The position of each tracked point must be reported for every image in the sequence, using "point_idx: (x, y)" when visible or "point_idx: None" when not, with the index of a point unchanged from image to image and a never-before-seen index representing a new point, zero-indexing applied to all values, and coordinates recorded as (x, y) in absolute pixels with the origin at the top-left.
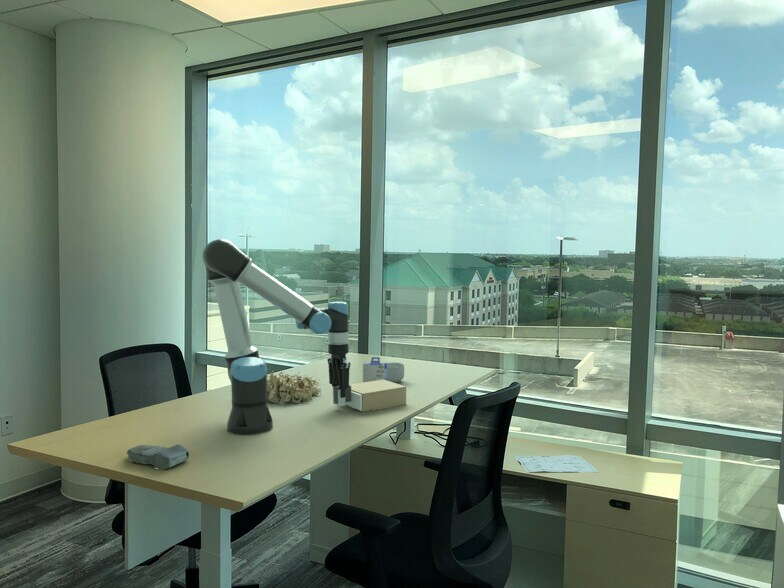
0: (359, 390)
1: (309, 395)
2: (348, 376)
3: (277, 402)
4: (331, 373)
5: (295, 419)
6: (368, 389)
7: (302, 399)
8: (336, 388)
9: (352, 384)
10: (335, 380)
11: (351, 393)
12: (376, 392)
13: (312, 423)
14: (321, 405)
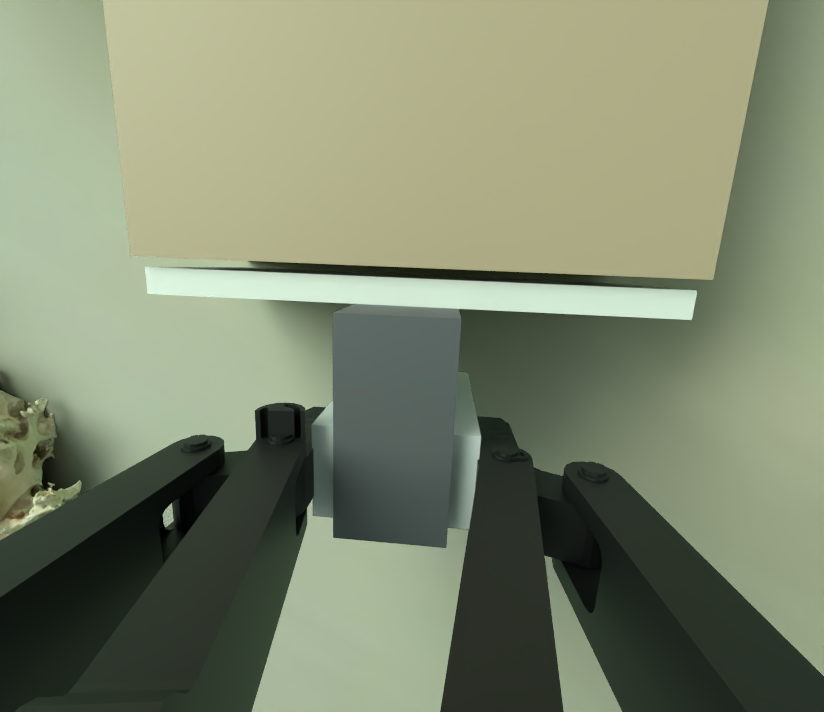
0: (520, 203)
1: (7, 431)
2: (769, 648)
3: None
4: (93, 653)
5: (435, 707)
6: (561, 41)
7: (50, 486)
8: (423, 535)
9: (128, 62)
10: (288, 547)
11: (465, 307)
12: (752, 16)
13: (585, 687)
14: (217, 416)
